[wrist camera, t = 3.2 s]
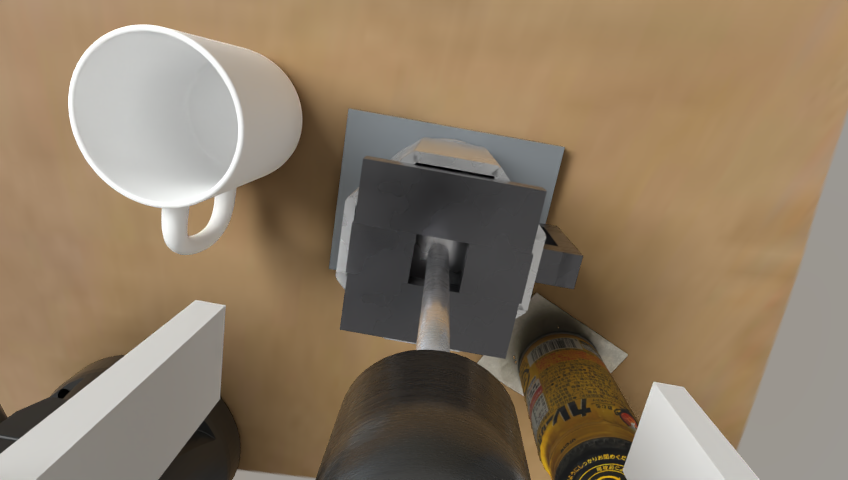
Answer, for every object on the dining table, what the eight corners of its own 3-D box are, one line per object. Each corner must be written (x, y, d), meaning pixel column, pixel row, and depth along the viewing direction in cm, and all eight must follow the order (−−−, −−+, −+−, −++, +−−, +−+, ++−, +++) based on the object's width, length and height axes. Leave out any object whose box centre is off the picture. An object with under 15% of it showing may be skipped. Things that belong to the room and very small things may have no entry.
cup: (311, 60, 31) (249, 41, 21) (295, 237, 34) (234, 291, 25) (184, 38, 31) (63, 9, 21) (179, 218, 34) (73, 264, 25)
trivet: (331, 265, 35) (328, 268, 34) (351, 108, 32) (348, 108, 31) (523, 299, 35) (525, 303, 34) (561, 146, 32) (564, 147, 31)
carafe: (361, 265, 34) (321, 339, 23) (381, 125, 31) (346, 138, 21) (529, 295, 34) (566, 383, 23) (563, 158, 31) (622, 187, 21)
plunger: (358, 301, 25) (126, 818, 7) (378, 164, 23) (125, 393, 5) (494, 325, 25) (615, 904, 7) (526, 190, 23) (809, 514, 5)
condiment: (563, 421, 37) (615, 563, 26) (475, 364, 36) (487, 485, 25) (627, 353, 36) (712, 473, 24) (535, 290, 35) (579, 385, 23)
